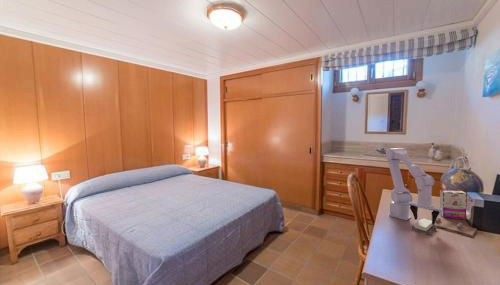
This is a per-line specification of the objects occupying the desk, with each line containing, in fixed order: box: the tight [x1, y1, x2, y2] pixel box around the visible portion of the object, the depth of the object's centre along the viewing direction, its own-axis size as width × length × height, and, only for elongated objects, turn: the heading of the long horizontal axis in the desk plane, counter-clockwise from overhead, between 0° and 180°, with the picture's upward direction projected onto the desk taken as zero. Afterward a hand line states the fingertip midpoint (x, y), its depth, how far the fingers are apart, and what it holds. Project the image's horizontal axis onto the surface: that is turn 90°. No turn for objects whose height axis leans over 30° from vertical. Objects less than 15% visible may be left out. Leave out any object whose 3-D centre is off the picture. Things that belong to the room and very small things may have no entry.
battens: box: [411, 224, 437, 236], centre depth 114 cm, size 8×10×2 cm
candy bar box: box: [439, 189, 468, 220], centre depth 127 cm, size 11×5×16 cm, turn 68°
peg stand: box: [426, 216, 478, 238], centre depth 116 cm, size 20×11×3 cm, turn 34°
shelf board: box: [414, 218, 433, 231], centre depth 114 cm, size 12×5×2 cm, turn 124°
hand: (424, 221), depth 114 cm, fingers open, 7 cm apart
